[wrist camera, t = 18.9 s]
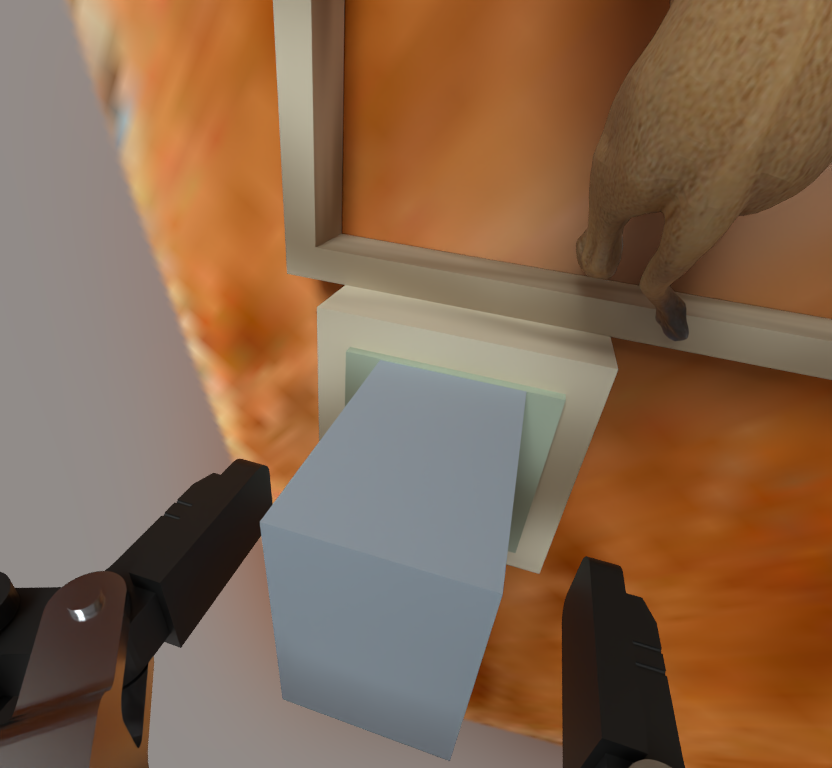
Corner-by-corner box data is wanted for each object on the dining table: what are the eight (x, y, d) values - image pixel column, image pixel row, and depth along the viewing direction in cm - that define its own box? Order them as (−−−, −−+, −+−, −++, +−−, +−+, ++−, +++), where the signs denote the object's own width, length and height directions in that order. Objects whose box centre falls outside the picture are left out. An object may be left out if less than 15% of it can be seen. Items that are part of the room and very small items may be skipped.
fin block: (380, 359, 12) (259, 522, 7) (526, 391, 12) (502, 594, 7) (371, 512, 16) (282, 698, 11) (486, 545, 15) (449, 760, 10)
